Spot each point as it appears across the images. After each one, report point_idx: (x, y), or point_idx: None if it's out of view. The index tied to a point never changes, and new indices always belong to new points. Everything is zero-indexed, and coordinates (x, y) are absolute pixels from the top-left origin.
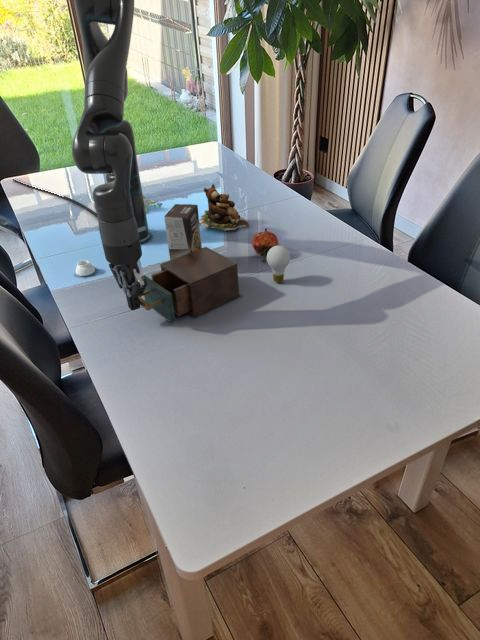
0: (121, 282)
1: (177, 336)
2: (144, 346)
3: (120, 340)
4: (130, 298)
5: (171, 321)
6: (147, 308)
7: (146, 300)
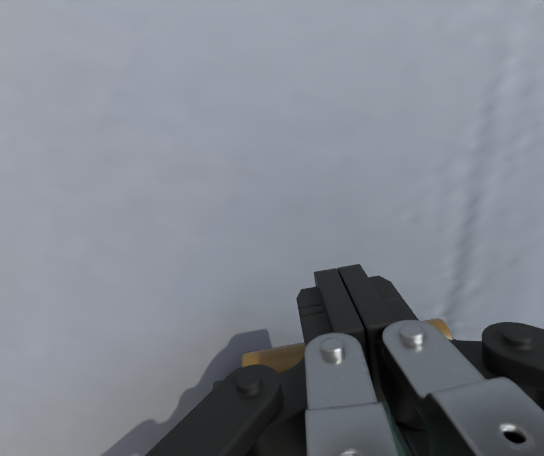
0: (454, 429)
1: (123, 360)
2: (112, 208)
3: (227, 116)
4: (332, 331)
5: (213, 386)
6: (243, 364)
7: None
